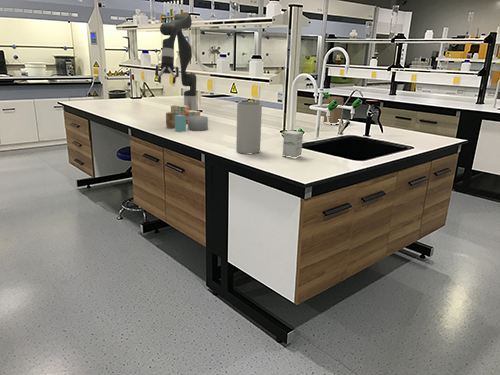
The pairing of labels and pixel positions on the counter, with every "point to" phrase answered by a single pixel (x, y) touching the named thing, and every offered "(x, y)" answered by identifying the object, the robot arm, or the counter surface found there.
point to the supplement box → (292, 143)
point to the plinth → (197, 123)
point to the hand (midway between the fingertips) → (166, 83)
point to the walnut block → (170, 120)
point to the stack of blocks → (184, 111)
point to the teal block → (180, 123)
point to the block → (336, 112)
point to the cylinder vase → (248, 127)
